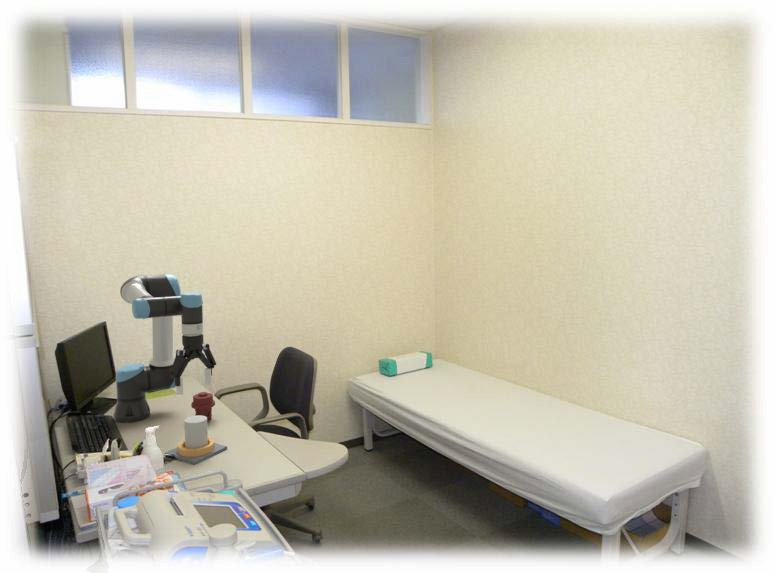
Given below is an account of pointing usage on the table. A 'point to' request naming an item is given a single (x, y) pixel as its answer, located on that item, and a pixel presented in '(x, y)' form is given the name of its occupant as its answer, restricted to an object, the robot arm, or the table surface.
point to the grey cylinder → (196, 432)
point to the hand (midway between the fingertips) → (194, 389)
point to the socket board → (200, 458)
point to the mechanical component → (203, 404)
